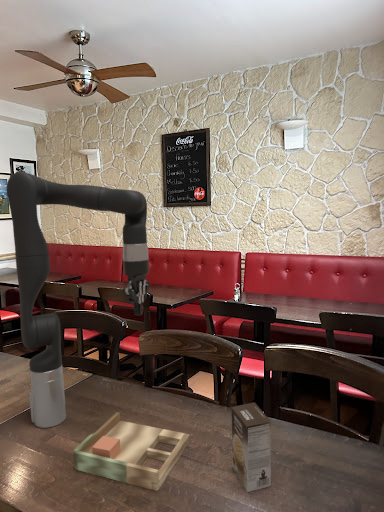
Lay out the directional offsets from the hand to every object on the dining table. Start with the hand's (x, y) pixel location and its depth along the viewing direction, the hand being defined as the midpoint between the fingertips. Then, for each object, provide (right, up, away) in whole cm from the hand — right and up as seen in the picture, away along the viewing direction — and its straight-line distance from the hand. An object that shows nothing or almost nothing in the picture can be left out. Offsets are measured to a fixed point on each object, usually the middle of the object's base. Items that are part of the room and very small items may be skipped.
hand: (138, 314), depth 117 cm
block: (-5, -33, -19) cm, 38 cm away
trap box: (+1, -34, -16) cm, 38 cm away
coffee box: (+30, -35, -25) cm, 53 cm away
